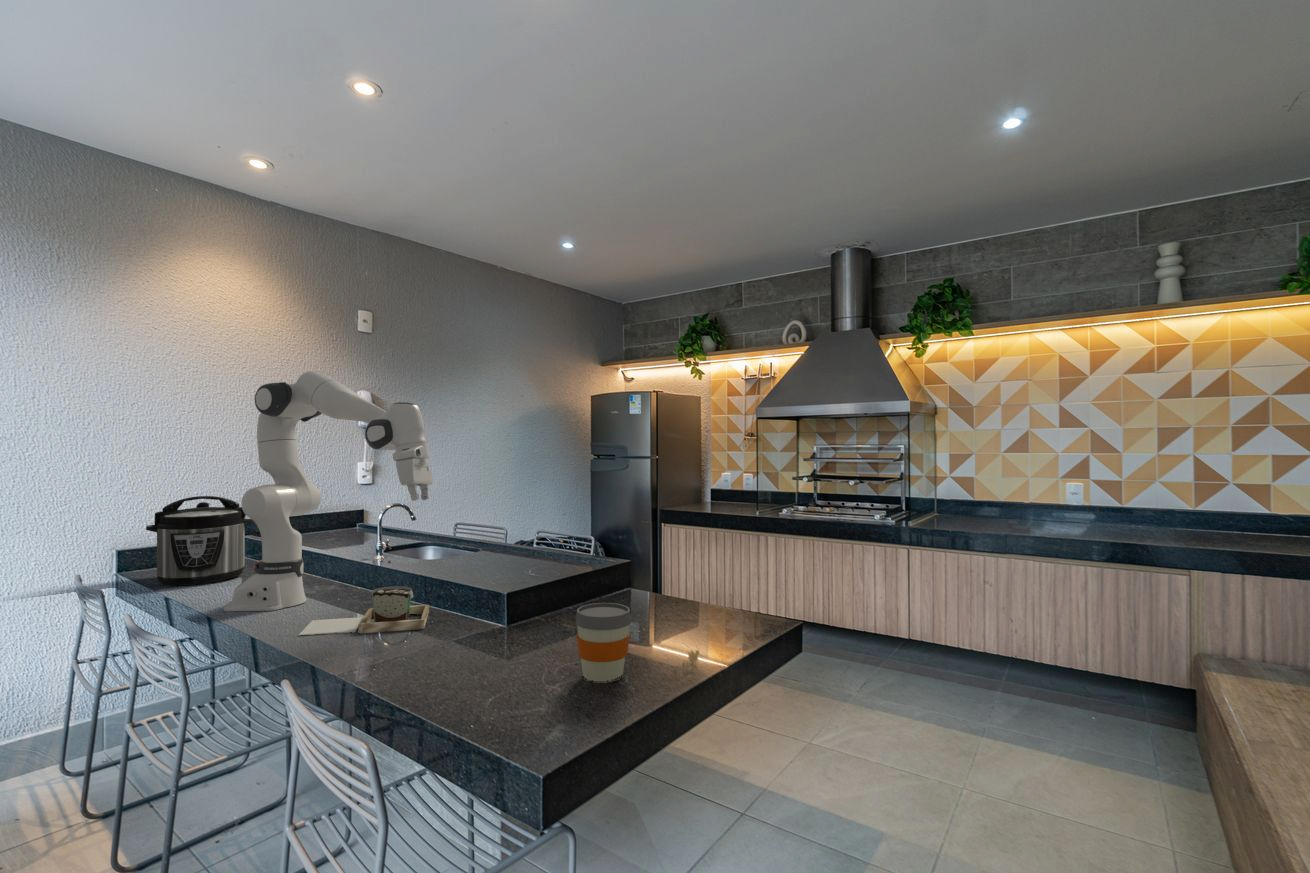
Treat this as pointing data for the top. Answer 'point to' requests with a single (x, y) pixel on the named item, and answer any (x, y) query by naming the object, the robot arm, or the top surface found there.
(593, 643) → the reusable coffee cup
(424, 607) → the frame
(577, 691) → the top surface
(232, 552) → the pressure cooker
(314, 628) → the mat
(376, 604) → the food container
